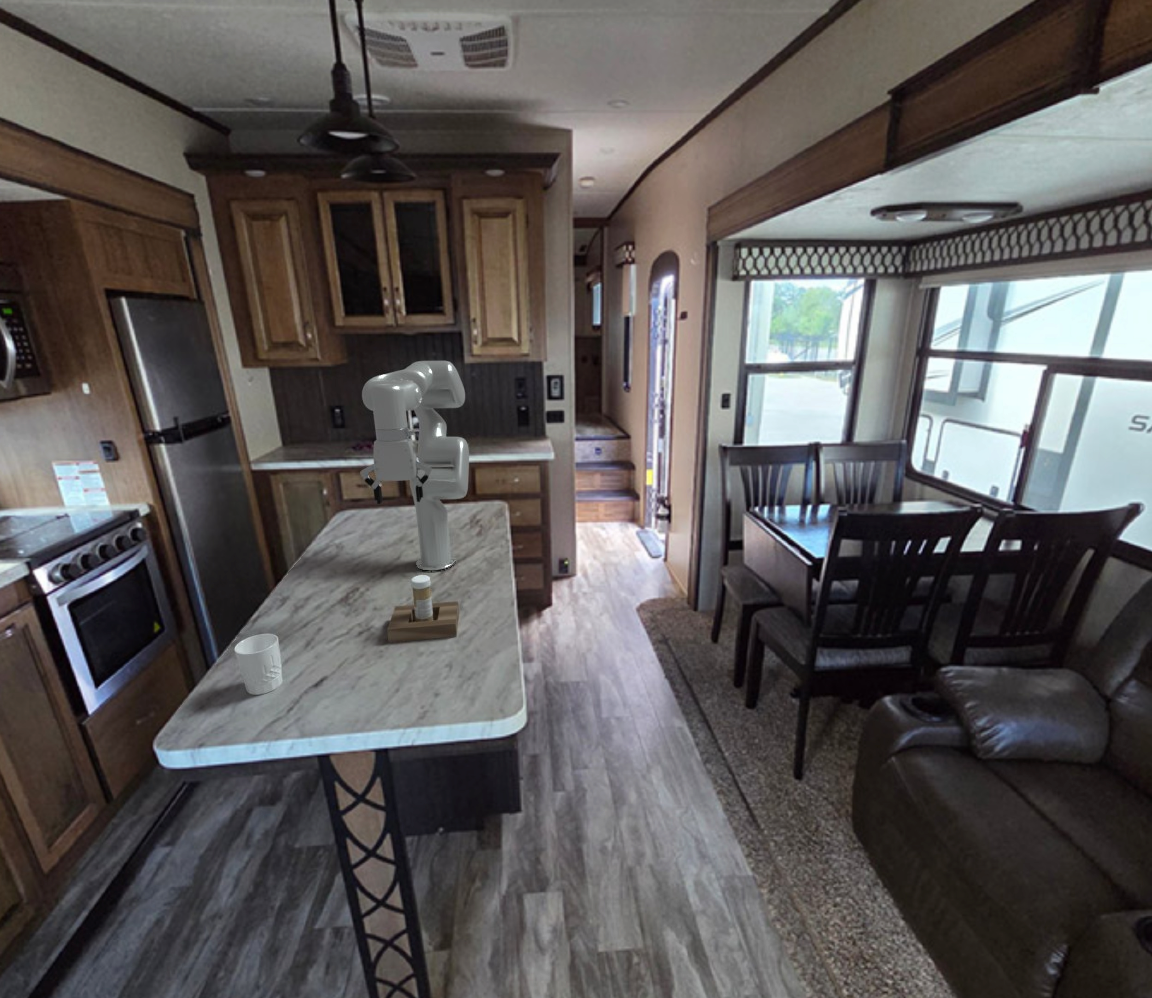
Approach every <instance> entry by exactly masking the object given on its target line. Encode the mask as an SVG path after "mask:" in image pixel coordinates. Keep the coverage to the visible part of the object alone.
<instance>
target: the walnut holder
mask: <svg viewBox="0 0 1152 998" xmlns="http://www.w3.org/2000/svg"><path fill="white" fill-rule="evenodd" d="M459 607H460V606H459V601H458V600H456V601H443V602H435V603H434V602H432V608H433V621H423V622H416V617H415V611H414V604H409V605H407V604H406V605H395V607H394V610H393V612H392V614H391V619H390V621H389V624H388V625H387V629H386V631H387V640H388V643H398V642H399V643H400V642H410V641H420V640H431V639H441V638H442V639H443V638H445V639H446V638H451V637H452V638H453V637H455V638H456V637H457V636H458V628H459V627H458V626H459V619H460V618H459V617H460V608H459Z"/></svg>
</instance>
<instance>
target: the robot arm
mask: <svg viewBox="0 0 1152 998" xmlns="http://www.w3.org/2000/svg"><path fill="white" fill-rule="evenodd" d="M361 397H362V398H361V399H362V401H363V404H364V406H365V408H367V409H368V410H370V411H373V412H372V413H373V420H374V428H375V430H374V431H375V436H376V437H375V438H376V440H374V442H373V463H372V464H371V465H369V466H367V467H366V468H363V469H362V470H360V472H359V475H360V476H361V478H362V479H363V480H364V482H365V483H366V484H367V485H368V486H370V487H371V489H373V495H374V496H373V497H374V501H376V503H377V505H381V504H382V502H383V494H382V486H381V485H380V484H381V482H398V481H409V487H410V491H411V496H412V498H413V502H414V507H415V508H414V509H415V516H416V517H415V518H416V524H417V525H416V526H417V534H418V543H419V544H418V545H419V554H420V558H419V559H417V560H416V563H415V565H417V566H416V568H417V567H419V568H420V569H423V570H438V569H443V568H446V567H448V566H450V565H452V564H453V563H454V562H455V561H456V562H457V558H456V557H455V558H451V555H452V554H451V544H450V543H451V540H450V528H449V519H448V511H447V508H446V506H445V505H444V504H443V502H442V501H441V500H457V499H463V498H464V497H466V495H467V494H468V490H469V472H470V471H469V469H470V467H469V465H470V450H469V449H470V448H469V444H468V442H467V440H466V439H465V438H463V437H461V436H447V430H448V429H447V428H448V427H447V423H446V421H445V419H443V417H442V416H441V415H440V414H439V413H438V412H437V411H436V410H435V409H457V408H460V407H462V406H463V405H464V403H465V401H466V392H465V388H464V384H463V382H462V379H461V377H460V375H459V372H458V370H457V368H456V367H455V366H454V364H453V363H452V362H451V361H447V360H420V361H419V360H418V361H415V362H412V363H411V364H410V365H408V366H407V367H405V368H404V369H400V370H395V371H393V372H392V371H391V372H389V373H385V374H379V375H376V376H374V377H372V378H370V379H369V380H368V381H366V383H365V384H364V385H363V388H362V391H361ZM407 411H414V413H415V415H416V416H415V417H416V418H417V421H418V426H419V427H418V429H419V431H418V440H417V441H418V444H417V453H416V448H415V444H414V441H413V438H410V437H411V436H415V430H414V429H410V428H409V426H408V418H407ZM445 467H446V468H445ZM372 471H373V473H374V478H375V480H374V479H373V478H371V477H370V475H369V473H371V472H372ZM451 559H456V560H454V561H453V560H451ZM450 563H451V564H450ZM420 565H421V566H420ZM420 569H419V570H420Z"/></svg>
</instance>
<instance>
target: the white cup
mask: <svg viewBox="0 0 1152 998" xmlns="http://www.w3.org/2000/svg"><path fill="white" fill-rule="evenodd" d="M279 643H280V642H279V637H278V636H277V635H275V634H274V633H262V634H261V633H260V634H256V635H255V634H254V635H252V636H249V637H246V638H245V639H243V640H240V641H239V642H238V643H237V644H236V645H235V647H234V649H233V650H234V651H233V652H234V654H235V658H236V661H237V664H238V668H239V672H240V675H241V677H242V680H243V683H244V687H245V690H246V692H247V693H248V694H249V695H254V696H258V695H264V694H267V693H271V692H273V691H275V690H276V689H277V688H279V687H280V686H281V685H282V683H283V682H284V681H283V680H284V679H283V672H282V670H283V668H282V667H283V665H282V656H281V650H280V644H279Z"/></svg>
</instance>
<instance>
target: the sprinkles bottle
mask: <svg viewBox="0 0 1152 998" xmlns="http://www.w3.org/2000/svg"><path fill="white" fill-rule="evenodd" d="M410 583H411V588H412V595H413V596H412V597H413V605H414V611H415V617H416V621H415V622H423V621H434V620H433V608H432V603H433V602H432V599H433V597H432V592H431V577H430V576H428V575H426V574H419V575H416V576H413V577H411V579H410Z"/></svg>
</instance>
